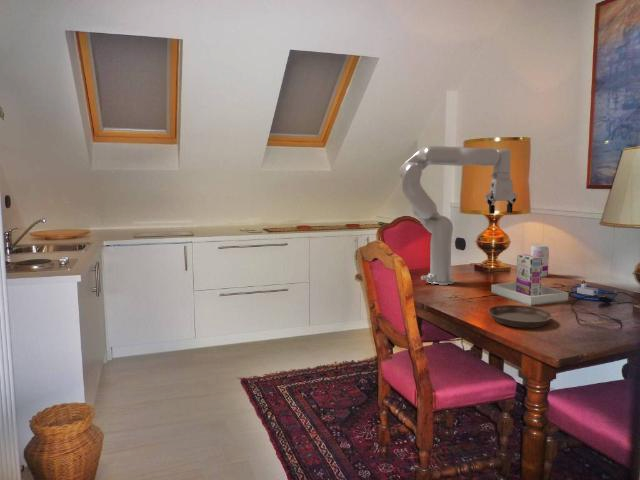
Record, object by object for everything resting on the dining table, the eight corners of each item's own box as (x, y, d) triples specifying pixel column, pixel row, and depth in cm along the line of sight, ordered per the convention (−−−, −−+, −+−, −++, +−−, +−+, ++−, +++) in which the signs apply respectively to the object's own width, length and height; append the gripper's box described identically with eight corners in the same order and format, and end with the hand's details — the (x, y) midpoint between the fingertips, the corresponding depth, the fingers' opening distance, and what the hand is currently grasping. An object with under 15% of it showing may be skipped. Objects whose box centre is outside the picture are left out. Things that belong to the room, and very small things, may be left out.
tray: (530, 306, 197) (531, 297, 196) (491, 292, 219) (491, 284, 219) (567, 301, 202) (568, 292, 202) (525, 288, 225) (525, 280, 224)
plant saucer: (553, 317, 182) (554, 308, 182) (549, 333, 164) (549, 323, 164) (493, 310, 192) (493, 302, 192) (483, 326, 174) (483, 316, 174)
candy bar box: (541, 298, 206) (542, 258, 204) (529, 298, 205) (530, 258, 203) (526, 291, 217) (527, 253, 215) (515, 292, 216) (516, 254, 214)
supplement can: (544, 274, 255) (545, 244, 253) (550, 277, 247) (551, 246, 245) (527, 274, 256) (528, 244, 254) (532, 277, 248) (533, 246, 246)
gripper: (490, 176, 230) (489, 214, 233) (522, 176, 235) (521, 212, 238) (480, 176, 237) (480, 213, 240) (512, 176, 242) (511, 211, 245)
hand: (500, 213), depth 239 cm, fingers open, 9 cm apart
